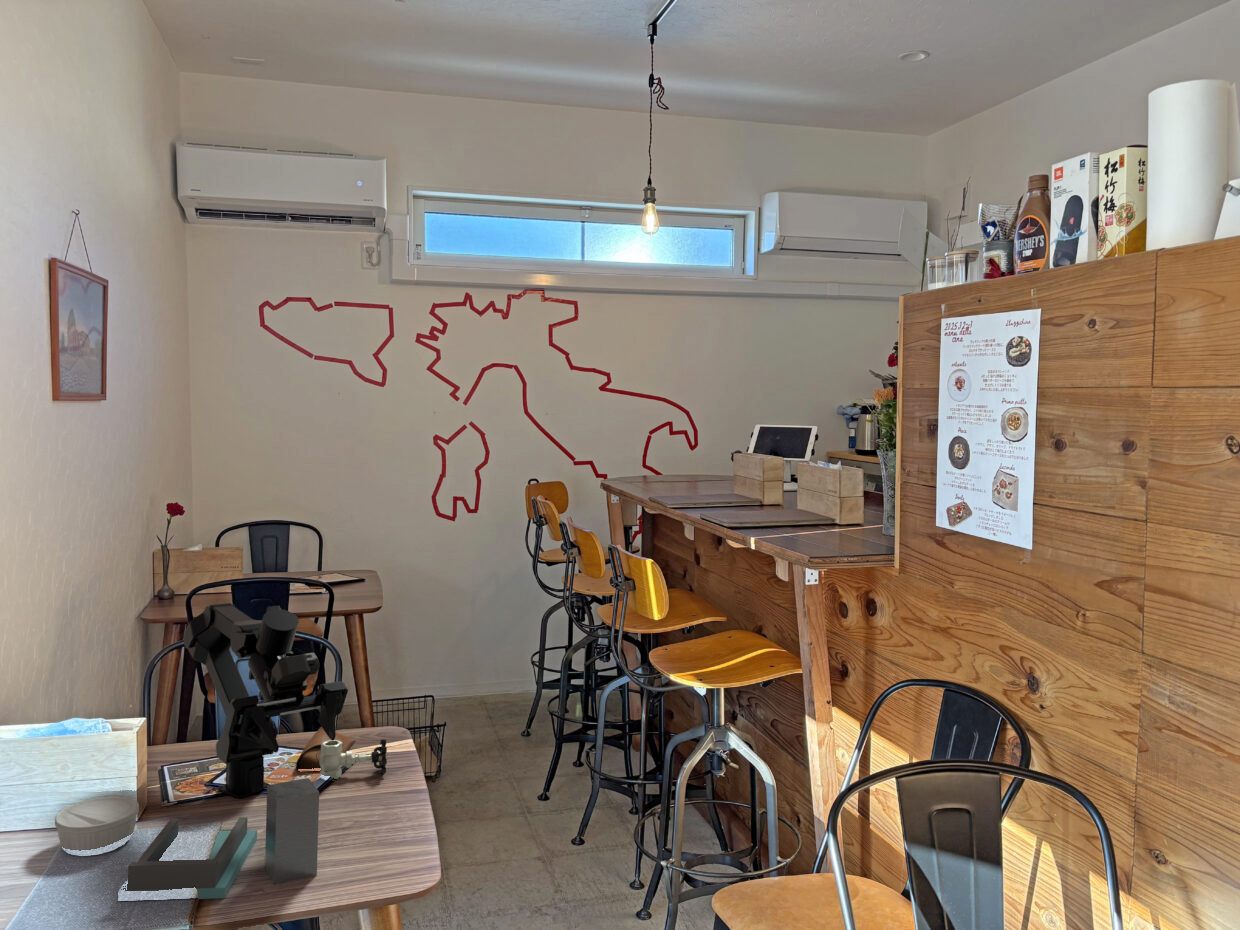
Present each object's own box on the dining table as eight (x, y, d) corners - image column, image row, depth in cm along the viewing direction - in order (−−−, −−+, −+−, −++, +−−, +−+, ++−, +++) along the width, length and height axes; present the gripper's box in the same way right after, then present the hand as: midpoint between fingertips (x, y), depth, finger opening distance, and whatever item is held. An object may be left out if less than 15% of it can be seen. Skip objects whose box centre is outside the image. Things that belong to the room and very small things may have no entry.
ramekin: (40, 862, 133) (41, 827, 132) (74, 828, 144) (74, 796, 144) (121, 860, 134) (122, 825, 134) (148, 827, 145) (149, 795, 145)
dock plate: (163, 841, 140) (164, 810, 140) (257, 839, 143) (257, 808, 142) (116, 902, 123) (117, 866, 122) (224, 898, 125) (225, 862, 125)
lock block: (265, 867, 134) (267, 785, 133) (306, 858, 137) (308, 777, 137) (274, 885, 129) (276, 799, 128) (316, 875, 132) (319, 791, 132)
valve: (319, 785, 165) (386, 779, 169) (320, 750, 164) (387, 745, 168) (318, 772, 171) (383, 766, 175) (319, 737, 171) (384, 733, 175)
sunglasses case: (341, 771, 171) (324, 741, 170) (308, 790, 170) (290, 760, 170) (357, 739, 189) (341, 712, 188) (327, 756, 188) (311, 729, 188)
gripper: (225, 647, 142) (256, 717, 132) (337, 633, 154) (373, 696, 145) (212, 700, 146) (241, 771, 136) (323, 681, 159) (356, 746, 149)
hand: (306, 744), depth 141 cm, fingers open, 9 cm apart
